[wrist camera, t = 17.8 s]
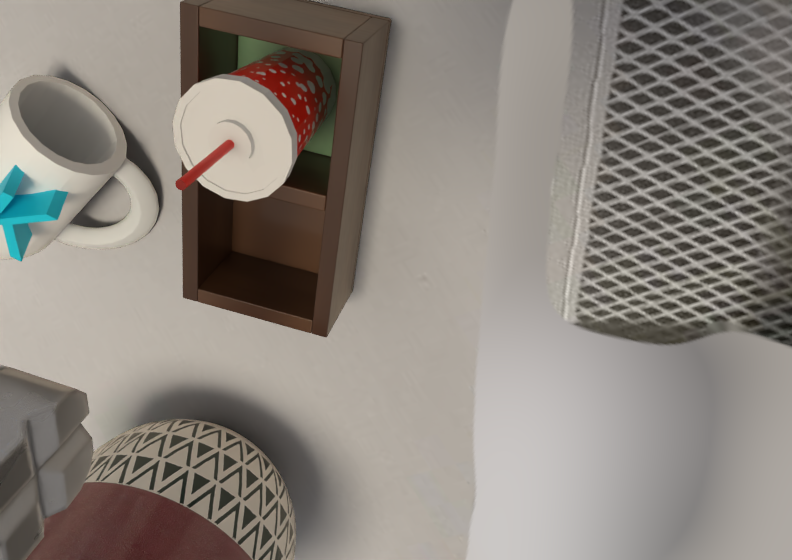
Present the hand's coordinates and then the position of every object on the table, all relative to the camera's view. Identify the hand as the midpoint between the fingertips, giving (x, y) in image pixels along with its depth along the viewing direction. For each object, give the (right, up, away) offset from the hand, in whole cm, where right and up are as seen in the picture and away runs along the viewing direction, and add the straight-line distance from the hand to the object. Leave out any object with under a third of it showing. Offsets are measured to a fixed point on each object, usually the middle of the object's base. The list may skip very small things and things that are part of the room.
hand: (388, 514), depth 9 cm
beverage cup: (-6, +14, +34) cm, 37 cm away
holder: (-6, +11, +36) cm, 38 cm away
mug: (-21, +10, +42) cm, 48 cm away
